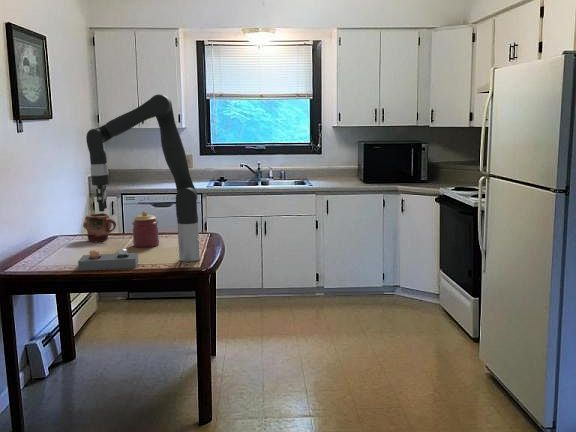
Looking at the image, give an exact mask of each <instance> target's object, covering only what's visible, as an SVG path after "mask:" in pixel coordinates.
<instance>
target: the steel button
mask: <svg viewBox="0 0 576 432" xmlns="http://www.w3.org/2000/svg"><path fill="white" fill-rule="evenodd" d="M127 253H128V248H119V249H117V254H118V257H127Z"/></svg>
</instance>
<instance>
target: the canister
mask: <svg viewBox="0 0 576 432" xmlns="http://www.w3.org/2000/svg"><path fill="white" fill-rule="evenodd" d="M158 223H159V221H158V220H157V216H155V215H153V214H149V213H148V212H147V211H146V210H143V211H142V212H141V214H138V215H136V216H134V217H133V221H132V222H131V225H132V230H131V231H132V239H133V240H132V243H133V247H135V248H142V249H143V248H154V247H157V246H159V244H160V237H159V227H158Z"/></svg>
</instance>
